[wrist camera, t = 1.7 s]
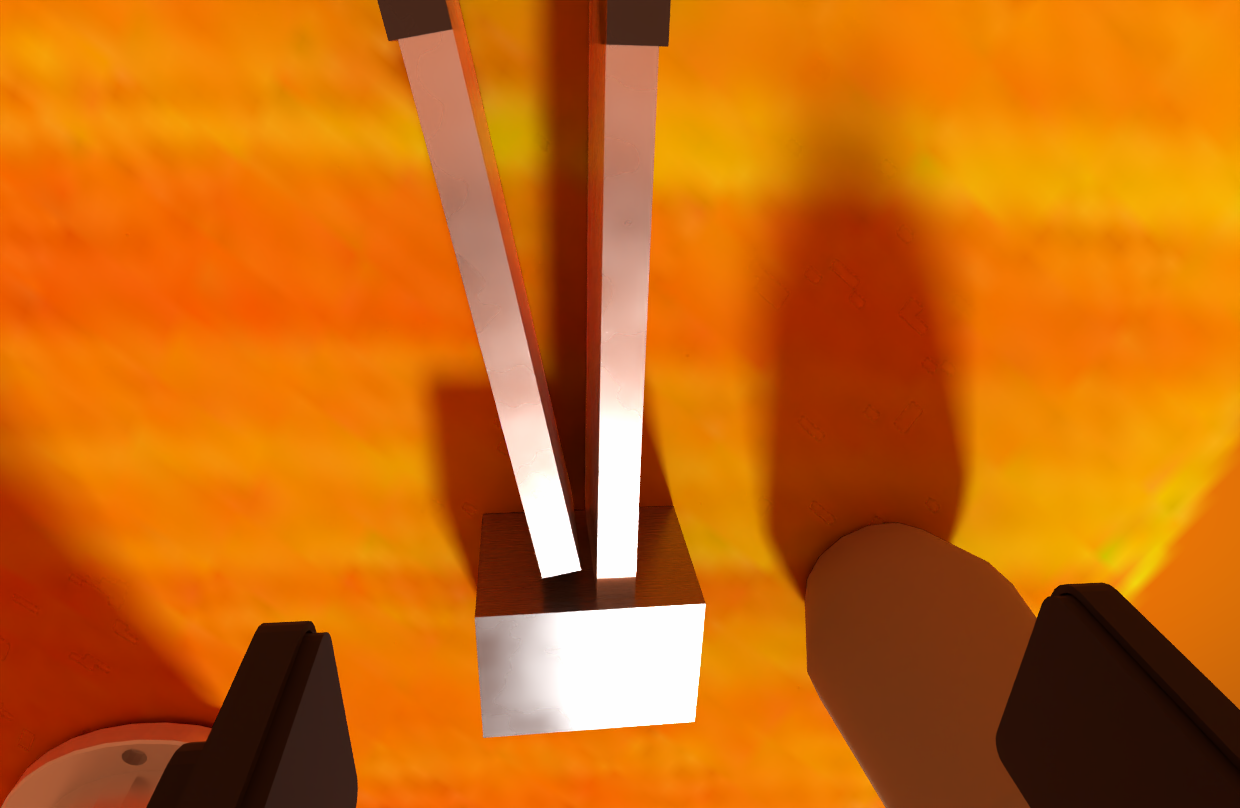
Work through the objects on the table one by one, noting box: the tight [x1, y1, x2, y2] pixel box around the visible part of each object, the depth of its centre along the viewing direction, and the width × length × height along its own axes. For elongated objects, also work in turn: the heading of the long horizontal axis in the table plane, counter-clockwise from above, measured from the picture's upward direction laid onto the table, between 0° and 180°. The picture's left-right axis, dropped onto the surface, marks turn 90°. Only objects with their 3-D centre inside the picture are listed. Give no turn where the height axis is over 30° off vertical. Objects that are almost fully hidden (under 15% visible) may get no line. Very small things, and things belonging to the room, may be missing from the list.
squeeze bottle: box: [805, 523, 1037, 808], centre depth 23 cm, size 8×8×18 cm
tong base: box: [475, 0, 706, 738], centre depth 22 cm, size 24×7×6 cm, turn 178°
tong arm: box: [378, 0, 581, 578], centre depth 21 cm, size 19×1×5 cm, turn 9°
